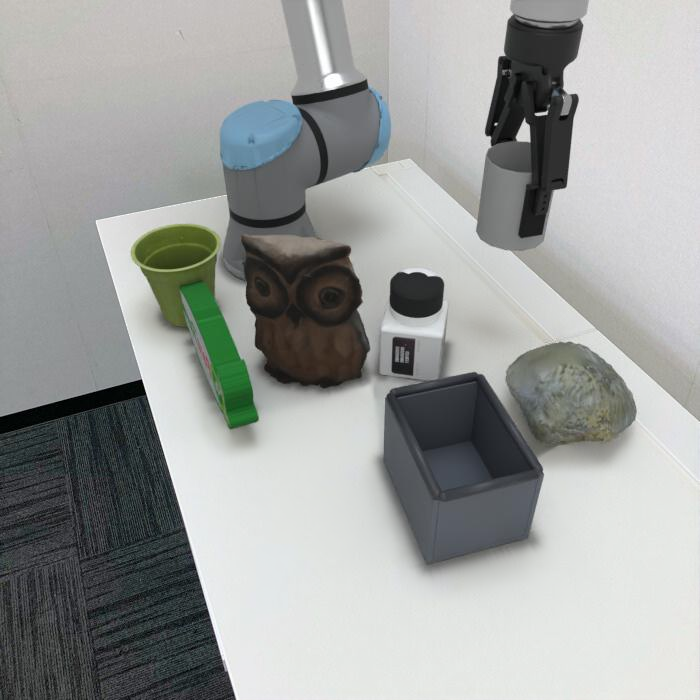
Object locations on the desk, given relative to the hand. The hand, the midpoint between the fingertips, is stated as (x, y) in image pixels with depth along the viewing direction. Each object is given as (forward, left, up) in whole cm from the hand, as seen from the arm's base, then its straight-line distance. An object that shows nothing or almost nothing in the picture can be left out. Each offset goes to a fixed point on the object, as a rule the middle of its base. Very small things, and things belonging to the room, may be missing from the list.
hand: (513, 215), depth 86 cm
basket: (+25, -22, -13) cm, 36 cm away
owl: (-1, -25, -18) cm, 31 cm away
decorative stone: (+17, +1, -18) cm, 25 cm away
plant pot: (-17, -40, -18) cm, 47 cm away
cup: (0, 0, -3) cm, 3 cm away
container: (+2, -13, -18) cm, 23 cm away
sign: (-2, -38, -18) cm, 42 cm away
